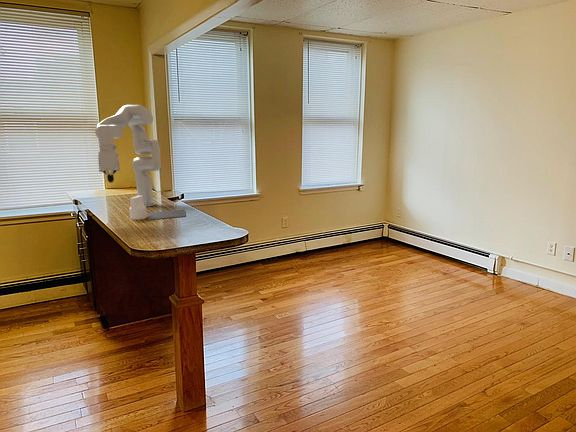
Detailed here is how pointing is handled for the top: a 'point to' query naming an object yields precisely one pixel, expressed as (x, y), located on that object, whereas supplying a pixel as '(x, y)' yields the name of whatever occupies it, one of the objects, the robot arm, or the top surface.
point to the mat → (166, 214)
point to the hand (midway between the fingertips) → (111, 182)
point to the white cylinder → (137, 208)
